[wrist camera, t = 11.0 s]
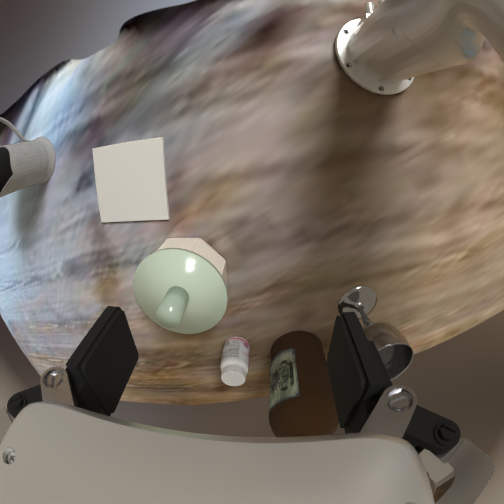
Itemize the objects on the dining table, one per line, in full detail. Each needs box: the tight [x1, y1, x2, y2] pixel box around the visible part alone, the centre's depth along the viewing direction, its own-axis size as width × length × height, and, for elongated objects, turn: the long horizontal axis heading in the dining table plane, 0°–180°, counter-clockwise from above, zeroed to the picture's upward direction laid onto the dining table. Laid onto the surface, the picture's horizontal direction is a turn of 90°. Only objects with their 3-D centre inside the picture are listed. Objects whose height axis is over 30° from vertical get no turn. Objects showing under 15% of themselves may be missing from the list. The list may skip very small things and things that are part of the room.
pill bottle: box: [220, 337, 250, 386], centre depth 44 cm, size 5×5×8 cm
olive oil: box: [269, 331, 339, 437], centre depth 37 cm, size 11×11×25 cm
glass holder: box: [0, 117, 56, 197], centre depth 27 cm, size 9×14×15 cm, turn 13°
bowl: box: [157, 237, 227, 287], centre depth 39 cm, size 12×12×6 cm
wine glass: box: [338, 286, 413, 380], centre depth 37 cm, size 8×8×15 cm
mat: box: [93, 137, 170, 222], centre depth 36 cm, size 12×12×1 cm
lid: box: [133, 248, 228, 334], centre depth 34 cm, size 14×14×6 cm
